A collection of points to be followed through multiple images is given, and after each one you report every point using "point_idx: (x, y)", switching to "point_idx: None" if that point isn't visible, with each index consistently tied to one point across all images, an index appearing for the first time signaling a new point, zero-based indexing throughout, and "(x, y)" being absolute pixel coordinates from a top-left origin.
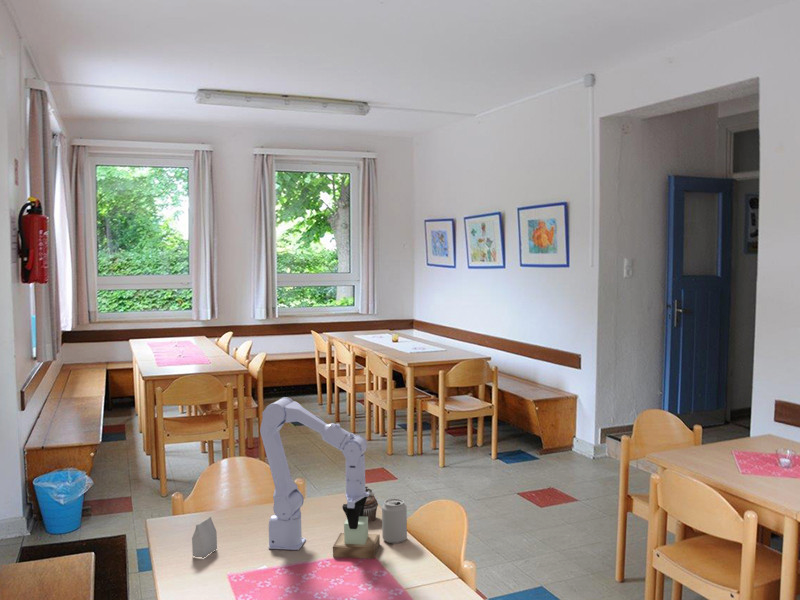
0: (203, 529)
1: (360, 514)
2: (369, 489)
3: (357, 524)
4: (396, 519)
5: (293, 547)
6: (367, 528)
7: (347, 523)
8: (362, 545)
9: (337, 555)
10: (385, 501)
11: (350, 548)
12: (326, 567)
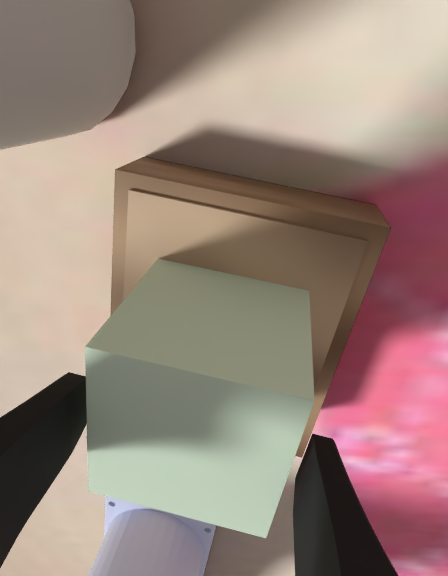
0: None
1: (61, 417)
2: None
3: (346, 475)
4: None
5: (203, 537)
6: (163, 298)
7: (262, 518)
8: (322, 307)
9: None
10: None
11: (332, 372)
12: (423, 446)
